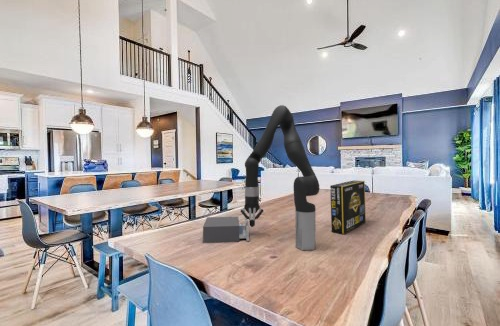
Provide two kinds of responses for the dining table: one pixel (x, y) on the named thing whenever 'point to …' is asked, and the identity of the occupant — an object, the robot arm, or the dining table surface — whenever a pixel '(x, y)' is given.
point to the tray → (245, 231)
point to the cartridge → (240, 228)
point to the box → (347, 206)
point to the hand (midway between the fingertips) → (252, 226)
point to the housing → (221, 229)
